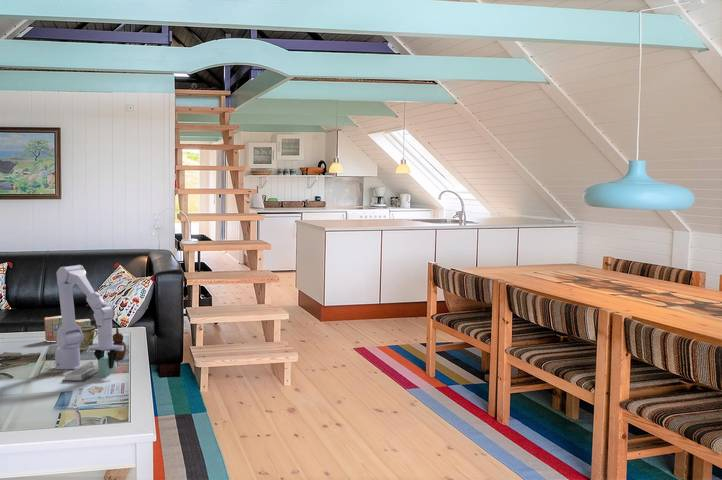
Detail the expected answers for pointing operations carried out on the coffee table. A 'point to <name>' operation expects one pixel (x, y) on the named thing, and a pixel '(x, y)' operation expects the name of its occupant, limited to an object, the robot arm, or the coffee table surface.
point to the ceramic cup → (87, 336)
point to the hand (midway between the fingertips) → (106, 368)
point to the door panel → (105, 367)
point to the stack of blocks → (56, 322)
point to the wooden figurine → (119, 341)
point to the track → (82, 373)
